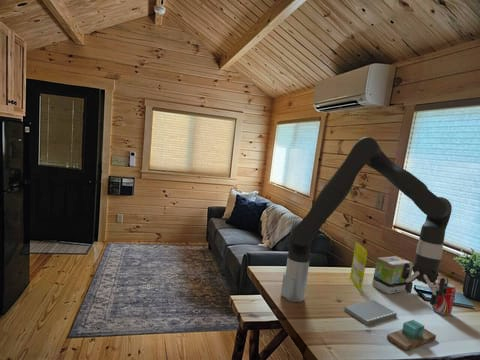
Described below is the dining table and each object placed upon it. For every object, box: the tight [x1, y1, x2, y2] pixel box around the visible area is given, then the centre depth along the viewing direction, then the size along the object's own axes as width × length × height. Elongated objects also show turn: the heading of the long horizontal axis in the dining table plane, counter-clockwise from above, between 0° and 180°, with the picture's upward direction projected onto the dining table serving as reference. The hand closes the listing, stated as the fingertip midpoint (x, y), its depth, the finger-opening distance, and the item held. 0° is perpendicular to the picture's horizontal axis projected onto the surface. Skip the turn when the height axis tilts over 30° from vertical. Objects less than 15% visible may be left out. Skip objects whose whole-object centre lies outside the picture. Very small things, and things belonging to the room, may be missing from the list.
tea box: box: [371, 255, 414, 295], centre depth 149 cm, size 15×10×15 cm, turn 117°
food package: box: [349, 241, 369, 293], centre depth 148 cm, size 15×1×20 cm, turn 179°
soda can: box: [431, 280, 457, 316], centre depth 130 cm, size 7×7×13 cm
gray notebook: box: [343, 299, 398, 326], centre depth 123 cm, size 18×11×2 cm, turn 119°
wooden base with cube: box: [386, 319, 437, 352], centre depth 108 cm, size 18×7×6 cm, turn 119°
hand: (420, 298), depth 106 cm, fingers open, 8 cm apart
